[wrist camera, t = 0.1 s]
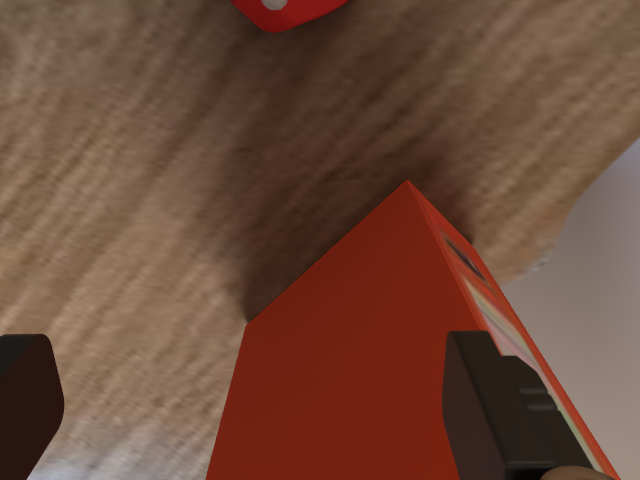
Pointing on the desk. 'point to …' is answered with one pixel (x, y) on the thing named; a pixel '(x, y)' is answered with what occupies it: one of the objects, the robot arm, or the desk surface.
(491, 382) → the robot arm
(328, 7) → the tracker holder
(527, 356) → the file binder
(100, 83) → the desk surface
